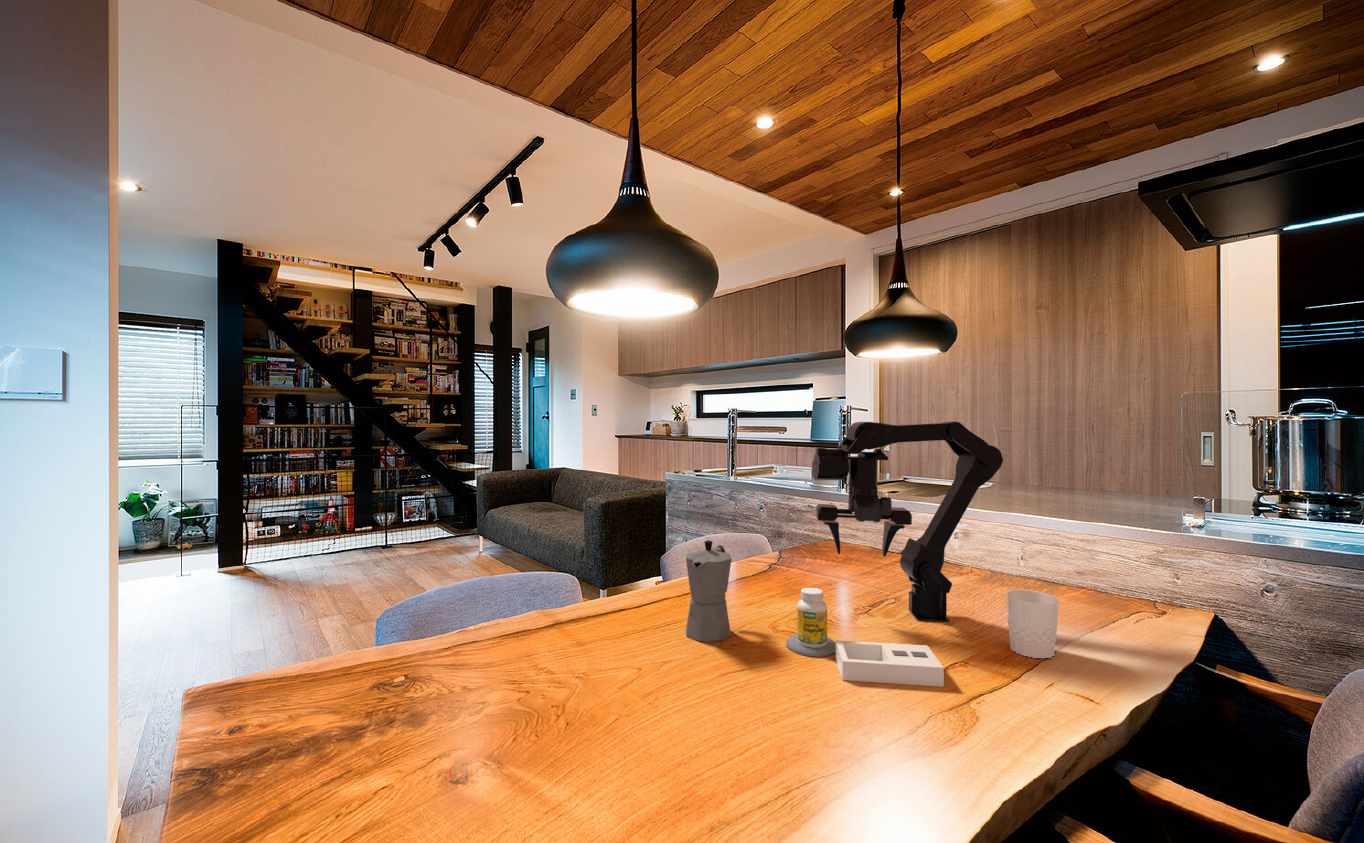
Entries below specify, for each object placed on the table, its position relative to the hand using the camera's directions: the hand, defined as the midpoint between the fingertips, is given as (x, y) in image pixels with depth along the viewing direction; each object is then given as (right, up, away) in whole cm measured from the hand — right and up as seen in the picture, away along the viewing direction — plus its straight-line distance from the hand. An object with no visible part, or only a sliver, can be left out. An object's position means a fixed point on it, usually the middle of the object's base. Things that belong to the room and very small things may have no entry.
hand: (861, 555), depth 117 cm
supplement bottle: (-14, -13, -15) cm, 24 cm away
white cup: (+25, -13, -17) cm, 33 cm away
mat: (-14, -13, -15) cm, 25 cm away
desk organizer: (-4, -13, -25) cm, 29 cm away
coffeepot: (-32, -13, -8) cm, 36 cm away
